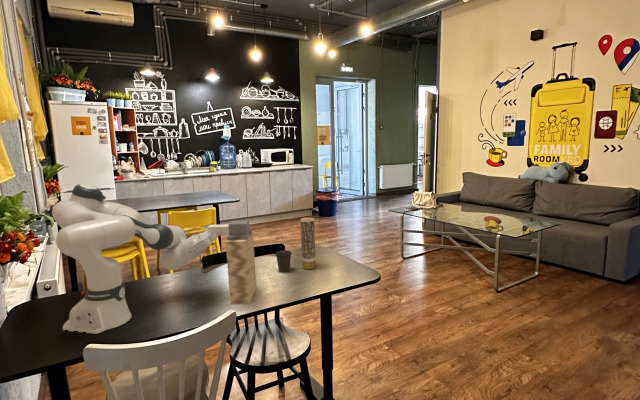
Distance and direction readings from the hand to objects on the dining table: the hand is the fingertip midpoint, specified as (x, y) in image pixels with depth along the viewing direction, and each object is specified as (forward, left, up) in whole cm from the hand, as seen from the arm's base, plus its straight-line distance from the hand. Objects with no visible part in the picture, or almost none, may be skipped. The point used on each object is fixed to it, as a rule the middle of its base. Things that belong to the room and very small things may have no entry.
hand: (223, 228), depth 157 cm
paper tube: (+32, +32, -30) cm, 54 cm away
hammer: (+2, 0, -3) cm, 4 cm away
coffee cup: (+20, +28, -30) cm, 46 cm away
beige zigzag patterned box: (+6, 0, -29) cm, 30 cm away
